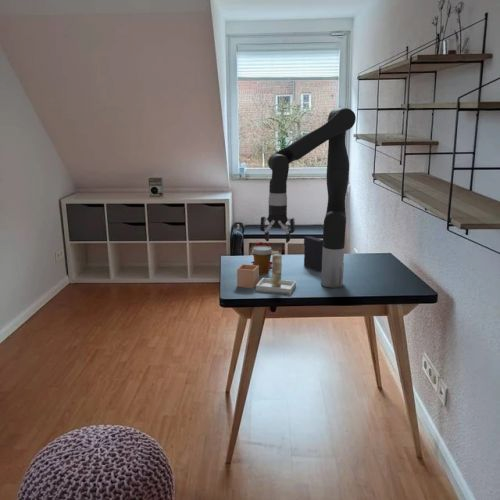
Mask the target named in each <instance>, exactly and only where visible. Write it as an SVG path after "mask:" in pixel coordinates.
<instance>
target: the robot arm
mask: <svg viewBox="0 0 500 500" xmlns="http://www.w3.org/2000/svg"><path fill="white" fill-rule="evenodd" d="M356 118H357V117H356V114H355V112H354V111H353V109H350V108H348V107H336V108H333V109H332V110H331V111H330V112H329V114H328V118H327V122H325V123H324V124H323V125H320V126H319V127H318V128H316V129H314V130H312V131H310V132H308V133H305V134H304V135H302V136H300V137H299V138H298V139H296V140H294V141H292V143H290V144H289V145H288V146H286V147H284V148H282V149H280V150H278V151H276V152H275V153H273V154H272V155H270V156H269V159H268V160H267V165H268V166H267V167H268V168H269V169H270V170H271V178H270V180H269V185H268V186H269V189H268V190H269V191H268V192H269V194H268V215H267V216H265V215H263V216H261V218H260V228H259V229H260V231H261V232H263V233H264V240H265V241H266V242H269V241H270V230H271V229H272V228H274V229H275V228H276V229H282V230H283V231H284V232H285V233H286V234H285V243H287V244H288V243H289V242H290V240H291V234H293V233H295V231H296V226H295V222H296V221H295V218H294V217H291V218H289V217H288V212H287V211H288V195H287V182H288V181H287V180H288V178H289V170H290V164H291V163H292V162H295V161H298V160H300V159H301V158H303V157H305V156H306V155H308V154H309V153H310V152H313V150H315V149H316V148H318V147H319V146H321V145H322V144H324V143H326V142H328V145H327V146H328V147H327V160H326V163H327V165H326V189H327V204H326V205H327V206H326V213H325V217H324V219H323V228H322V229H323V230H322V231H323V232H322V240H323V255H322V271H321V275H320V276H321V277H320V284H321V286H323V287H325V288H331V289H334V288H342V286H343V284H344V270H345V263H344V262H345V261H344V259H345V258H344V257H345V247H346V246H345V245H346V244H345V243H346V242H345V241H346V228H347V227H346V225H347V214H346V196H347V190H348V185H349V178H350V161H349V160H350V159H349V155H348V150H347V148H346V147H347V146H346V145H347V144H346V134H347V133H346V132H347V131H349V130H350V129H352V128H353V127H354V125H355V123H356V121H357V119H356ZM267 221H268V223H269V224H268V226H267V227H266V226H265V225H266V222H267ZM287 222H288V223H289V224H290V228H289V226H288V225H287Z"/></svg>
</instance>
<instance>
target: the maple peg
mask: <svg viewBox="0 0 500 500" xmlns="http://www.w3.org/2000/svg"><path fill="white" fill-rule="evenodd" d="M271 257H272V258H271V260H272V261H271V262H272V264H271V265H272V269H271V279H272V287H279V288H281V280H282V265H283V264H282V262H283V261H282V260H283V255H282V254H280V253H279V254H278V253H277V254H276V253H275V254H271Z"/></svg>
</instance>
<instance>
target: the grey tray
mask: <svg viewBox="0 0 500 500" xmlns="http://www.w3.org/2000/svg"><path fill="white" fill-rule="evenodd" d="M296 287H297V281H296V280H289V279H288V280H287V279H281V288H279V287H272V278H270V277H268V278H267V277H262V278H261V279H259V282H258V284H257V285H256V286H255V291H256V292H263V293H271V294H278V295H279V294H280V295H288V296H290V295H291V294H292V293H293V291H294V290H295V288H296Z"/></svg>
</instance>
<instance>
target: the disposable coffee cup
mask: <svg viewBox="0 0 500 500" xmlns="http://www.w3.org/2000/svg"><path fill="white" fill-rule="evenodd" d="M254 246H255V245H254ZM254 246H253V247H252V251H251V252H252V255H253V261H254V265H257V266H259V275H267V274H269V271H270V269H269V266H270V262H271V260H272V258H271V257H272V253H273V249H272V247H269V246H255V247H254Z"/></svg>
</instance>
